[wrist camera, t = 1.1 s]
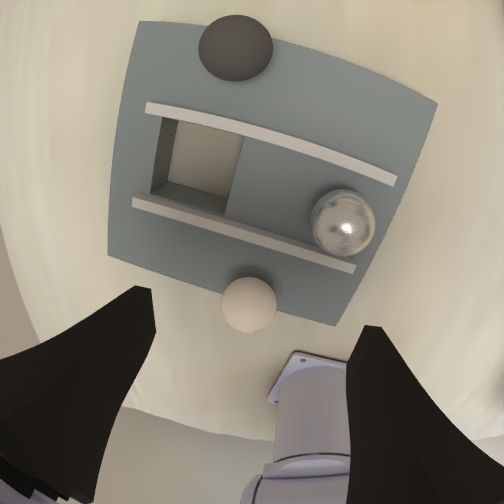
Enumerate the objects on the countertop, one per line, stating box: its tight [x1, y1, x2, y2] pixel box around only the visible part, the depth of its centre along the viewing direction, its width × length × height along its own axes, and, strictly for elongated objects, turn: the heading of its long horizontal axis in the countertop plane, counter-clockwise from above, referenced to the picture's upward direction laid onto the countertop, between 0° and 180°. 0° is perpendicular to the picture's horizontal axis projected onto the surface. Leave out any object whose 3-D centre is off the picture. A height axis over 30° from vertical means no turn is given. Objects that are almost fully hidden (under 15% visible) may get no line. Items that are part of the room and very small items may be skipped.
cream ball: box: [221, 277, 277, 333], centre depth 17 cm, size 3×3×3 cm
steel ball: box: [310, 189, 376, 256], centre depth 14 cm, size 3×3×3 cm
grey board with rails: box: [108, 21, 438, 326], centre depth 16 cm, size 16×15×3 cm
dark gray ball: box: [198, 15, 273, 82], centre depth 11 cm, size 3×3×3 cm
